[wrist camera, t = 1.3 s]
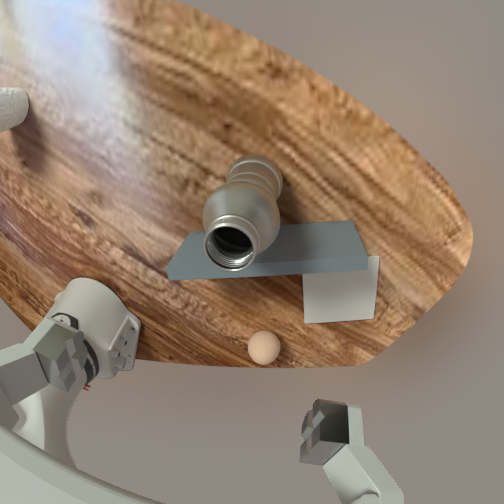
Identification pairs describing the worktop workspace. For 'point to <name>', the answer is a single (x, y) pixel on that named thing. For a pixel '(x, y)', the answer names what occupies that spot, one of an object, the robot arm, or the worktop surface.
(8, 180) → the worktop surface
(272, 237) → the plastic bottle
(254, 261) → the slate screen
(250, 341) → the egg
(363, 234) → the worktop surface
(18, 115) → the white cup
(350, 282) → the grey mat
